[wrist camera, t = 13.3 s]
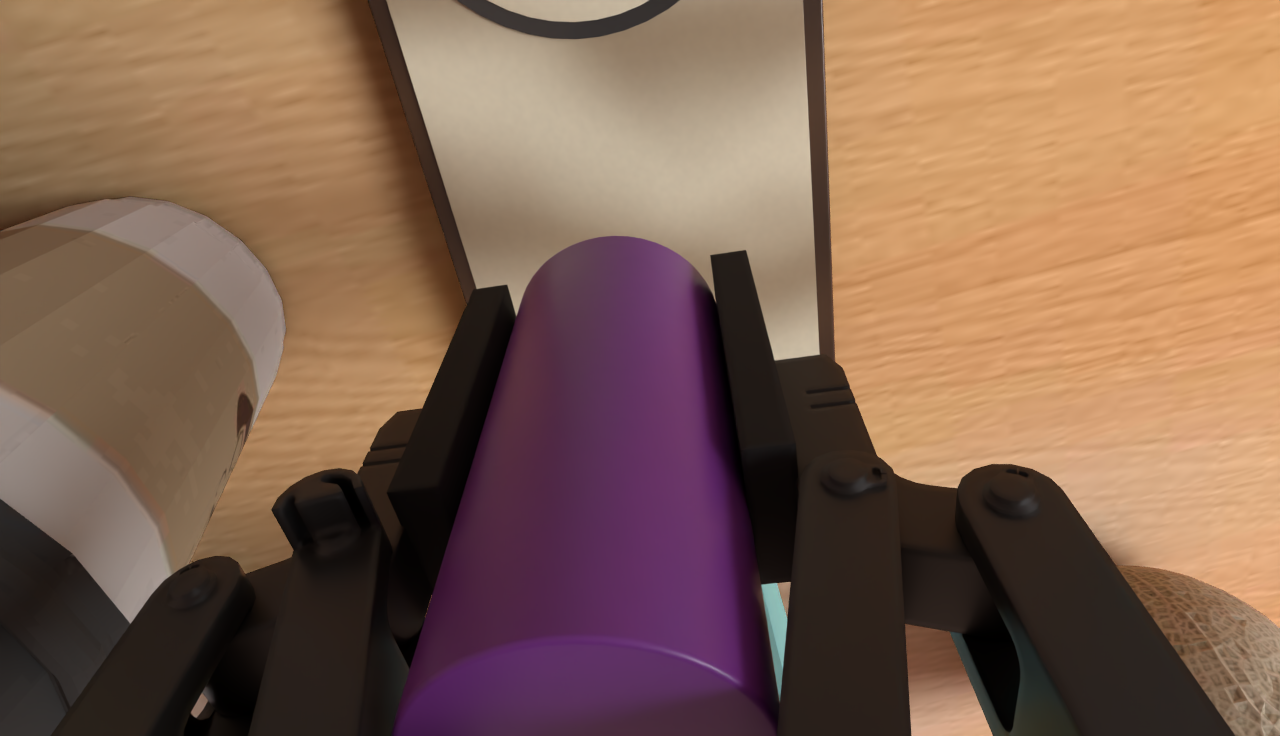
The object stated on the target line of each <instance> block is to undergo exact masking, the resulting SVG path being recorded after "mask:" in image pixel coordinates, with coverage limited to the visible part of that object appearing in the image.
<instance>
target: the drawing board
mask: <svg viewBox="0 0 1280 736" xmlns="http://www.w3.org/2000/svg"><path fill="white" fill-rule="evenodd" d="M368 3H369V6H370V9H371V12H372V15H373V18H374V21H375V24H376V28H377V31H378V34H379V37H380V40H381V43H382V46H383V49H384V52H385V55H386V58H387V61H388V64H389V67H390V71H391V74H392V77H393V80H394V83H395V86H396V89H397V92H398V95H399V98H400V101H401V104H402V107H403V110H404V114H405V117H406V120H407V123H408V126H409V129H410V132H411V135H412V138H413V141H414V144H415V147H416V150H417V153H418V157H419V160H420V163H421V166H422V169H423V172H424V175H425V178H426V181H427V184H428V187H429V190H430V193H431V196H432V200H433V203H434V206H435V209H436V212H437V215H438V218H439V221H440V224H441V227H442V230H443V233H444V236H445V239H446V243H447V246H448V249H449V252H450V255H451V258H452V261H453V264H454V267H455V270H456V273H457V276H458V279H459V282H460V286H461V289H462V292H463V295H464V298H465V301H466V304H467V303H468V301H469V298H470V296H471V294H472V291H473V289H479V288H486V287H493V286H500V285H508V289H509V292H510V296H511V299H512V303H513V306H514V310H515V313H516V316H517V313H518V310H519V306H520V303H521V300H522V297H523V294H524V292H525V290H526V287H527V285H528V284H529V282H530V280H531V279H532V277H533V276H534V274H535V273H536V272H537V271H538V270H539V268H540V267H541V266H542V265H543V264H544V263H545V262H547V261H548V260H549V259H550V258H551V257H553V256H554V255H555V254H557V253H558V252H560V251H561V250H563V249H565V248H567V247H569V246H571V245H573V244H576V243H579V242H582V241H585V240H588V239H593V238H597V237H605V236H629V237H636V238H642V239H645V240H649V241H652V242H656V243H658V244H660V245H663V246H665V247H667V248H669V249H671V250H672V251H674V252H676V253H678V254H679V255H681V256H682V257H683V258H684V259H686V260H687V261H688V262H690V263H691V264H692V265H693V266H694V267H695V268H696V269H697V271H698V272H699V273H700V274H701V275H702V277H703V278H704V279H705V281H706V282H707V284H708V286H709V288H710V290H711V292H712V294H713V296H714V299H715V291H714V283H713V275H712V266H711V258H710V255H714V254H721V253H728V252H735V251H742V250H746V251H747V255H748V259H749V263H750V267H751V271H752V275H753V279H754V282H755V286H756V290H757V294H758V298H759V302H760V306H761V310H762V313H763V317H764V321H765V325H766V329H767V333H768V337H769V341H770V344H771V348H772V352H773V356H774V360H782V359H790V358H798V357H805V356H813V355H821V354H825V355H827V356H828V357H829V358H831V359H832V360H833V361H834V362H835V344H834V315H833V285H832V256H831V227H830V198H829V169H828V140H827V111H826V82H825V53H824V24H823V0H368ZM715 302H716V299H715Z"/></svg>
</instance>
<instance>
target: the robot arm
mask: <svg viewBox="0 0 1280 736" xmlns="http://www.w3.org/2000/svg"><path fill="white" fill-rule="evenodd" d="M710 258H711V266H712V275H713V283H714V291H715V299H716V306H717V312H718V319H719V325H720V331H721V338H722V344H723V351H724V357H725V364H726V370H727V377H728V383H729V389H730V396H731V402H732V409H733V415H734V422H735V428H736V435H737V441H738V447H739V454H740V460H741V467H742V473H743V480H744V486H745V493H746V499H747V505H748V510H749V514H750V519H751V524H752V530H753V536H754V542H755V549H756V555H757V561H758V568H759V574H760V580H761V585H762V584H772V583H782V582H791V587H790V597H789V608H788V619H787V630H786V641H785V652H784V662H783V673H782V684H781V695H780V706H779V717H778V727H777V736H911V722H910V705H909V687H908V670H907V653H906V635H905V624H910V625H916V626H921V627H927V628H933V629H938V630H944V631H950V634H951V636H952V639H953V641H954V643H955V646H956V648H957V651H958V653H959V655H960V658H961V660H962V662H963V665H964V667H965V670H966V672H967V674H968V677H969V679H970V682H971V684H972V686H973V689H974V691H975V693H976V696H977V698H978V701H979V703H980V705H981V708H982V710H983V712H984V715H985V717H986V720H987V722H988V724H989V727H990V729H991V732H992V734H993V736H1235V734H1234V733H1233V731H1232V730H1231V729H1230V727H1229V726H1228V724H1227V723H1226V721H1225V720H1224V719H1223V717H1222V716H1221V714H1220V713H1219V712H1218V710H1217V709H1216V707H1215V706H1214V704H1213V703H1212V702H1211V700H1210V699H1209V697H1208V696H1207V694H1206V693H1205V692H1204V690H1203V689H1202V687H1201V686H1200V685H1199V683H1198V682H1197V680H1196V679H1195V677H1194V676H1193V675H1192V673H1191V672H1190V670H1189V669H1188V667H1187V666H1186V665H1185V663H1184V662H1183V660H1182V659H1181V658H1180V656H1179V655H1178V653H1177V652H1176V650H1175V649H1174V648H1173V646H1172V645H1171V643H1170V642H1169V640H1168V639H1167V638H1166V636H1165V635H1164V633H1163V632H1162V631H1161V629H1160V628H1159V626H1158V625H1157V623H1156V622H1155V621H1154V619H1153V618H1152V616H1151V615H1150V613H1149V612H1148V611H1147V609H1146V608H1145V606H1144V605H1143V603H1142V602H1141V601H1140V599H1139V598H1138V596H1137V595H1136V594H1135V592H1134V591H1133V589H1132V588H1131V586H1130V585H1129V584H1128V582H1127V581H1126V579H1125V578H1124V576H1123V575H1122V574H1121V572H1120V571H1119V569H1118V568H1117V567H1116V565H1115V564H1114V562H1113V561H1112V559H1111V558H1110V557H1109V555H1108V554H1107V552H1106V551H1105V549H1104V548H1103V547H1102V545H1101V544H1100V542H1099V541H1098V540H1097V538H1096V537H1095V535H1094V534H1093V532H1092V531H1091V530H1090V528H1089V527H1088V525H1087V524H1086V522H1085V521H1084V520H1083V518H1082V517H1081V515H1080V514H1079V513H1078V511H1077V510H1076V508H1075V507H1074V505H1073V504H1072V503H1071V501H1070V500H1069V498H1068V497H1067V495H1066V494H1065V493H1064V491H1063V490H1062V489H1061V488H1060V487H1059V486H1058V485H1057V484H1056V483H1055V482H1054V481H1053V480H1052V479H1051V478H1049V477H1047V476H1045V475H1043V474H1041V473H1039V472H1037V471H1035V470H1033V469H1030V468H1025V467H1021V466H1017V465H1012V464H991V465H987V466H984V467H980V468H976V469H974V470H972V471H971V472H970V473H968V474H967V475H965V476H964V477H963V478H962V480H961V482H960V484H959V486H958V489H957V488H948V487H939V486H930V485H925V484H920V483H915V482H912V481H909V480H907V479H904V478H901V477H899V476H898V475H896V474H894V472H893V469H892V468H891V467H890V466H889V465H888V464H887V463H886V462H884V461H883V460H882V459H881V458H879V457H878V456H877V455H876V452H875V449H874V447H873V444H872V442H871V439H870V437H869V434H868V432H867V429H866V427H865V424H864V421H863V419H862V416H861V414H860V411H859V409H858V406H857V404H856V403H855V398H854V396H853V393H852V391H851V389H850V387H849V383H848V381H847V378H846V376H845V373H844V370H843V368H842V367H841V366H839V365H838V364H837V363H836V362H834V361H833V360H832V359H831V358H829V357H828V356H827V355H825V354H821V355H813V356H805V357H798V358H790V359H782V360H774V356H773V352H772V348H771V344H770V341H769V337H768V333H767V329H766V325H765V321H764V317H763V313H762V310H761V306H760V302H759V298H758V294H757V290H756V286H755V282H754V279H753V275H752V271H751V267H750V263H749V259H748V255H747V251H746V250H742V251H735V252H728V253H721V254H714V255H710ZM515 320H516V313H515V310H514V306H513V303H512V299H511V296H510V292H509V289H508V285H500V286H493V287H486V288H479V289H473V291H472V294H471V296H470V298H469V301H468V303H467V305H466V308H465V310H464V312H463V315H462V317H461V319H460V322H459V324H458V327H457V329H456V331H455V334H454V336H453V338H452V341H451V343H450V345H449V348H448V350H447V352H446V355H445V357H444V359H443V362H442V364H441V366H440V369H439V371H438V373H437V376H436V378H435V380H434V383H433V385H432V387H431V390H430V392H429V394H428V397H427V399H426V401H425V404H424V406H423V408H422V409H415V410H407V411H400V412H397V413H396V414H395V415H394V416H393V417H392V418H391V419H390V420H389V421H387V422H386V423H385V424H384V425H383V426H382V427H381V428H380V429H379V431H378V433H377V435H376V437H375V439H374V441H373V443H372V445H371V447H370V452H368V453H367V455H366V457H365V459H364V461H363V467H361V468H360V470H359V472H358V474H356V473H355V472H354V471H352V470H347V469H340V468H338V469H331V470H324V471H321V472H318V473H315V474H313V475H310V476H307V477H305V478H303V479H302V480H300V481H298V482H297V483H295V484H293V485H292V486H290V487H289V488H288V489H287V490H286V491H285V492H284V493H283V494H282V495H281V496H279V497H278V499H277V500H276V502H275V504H274V506H273V508H272V509H271V510H272V512H273V514H274V516H275V517H276V519H277V521H278V523H279V525H280V526H281V528H282V530H283V532H284V534H285V535H286V537H287V539H288V541H289V543H290V544H291V546H292V548H293V550H294V551H293V555H292V557H291V558H289V559H286V560H284V561H281V562H278V563H276V564H273V565H270V566H267V567H264V568H261V569H258V570H255V571H253V572H250V573H247V574H245V573H244V571H243V570H242V568H241V567H240V565H239V563H238V562H236V561H235V560H233V559H232V558H230V557H224V556H213V557H209V558H205V559H201V560H198V561H195V562H193V563H191V564H189V565H186V566H185V567H183V568H181V569H179V570H178V571H176V572H175V573H174V574H172V575H171V576H169V577H168V578H167V579H165V580H164V581H163V582H162V583H161V584H160V585H159V587H158V588H157V589H156V590H155V591H154V592H153V593H152V594H151V596H150V597H149V599H148V600H147V601H146V603H145V604H144V606H143V607H142V608H141V610H140V611H139V613H138V614H137V615H136V617H135V618H134V620H133V621H132V622H131V624H130V625H129V627H128V628H127V629H126V631H125V632H124V634H123V635H122V636H121V638H120V639H119V641H118V642H117V643H116V645H115V646H114V648H113V649H112V650H111V652H110V653H109V655H108V656H107V657H106V659H105V660H104V662H103V663H102V664H101V666H100V667H99V669H98V670H97V671H96V673H95V674H94V676H93V677H92V678H91V680H90V681H89V683H88V684H87V685H86V687H85V688H84V690H83V691H82V692H81V694H80V695H79V697H78V698H77V699H76V701H75V702H74V704H73V705H72V706H71V708H70V709H69V711H68V712H67V713H66V715H65V716H64V718H63V719H62V720H61V722H60V723H59V725H58V726H57V727H56V729H55V730H54V732H53V733H52V734H51V736H391V733H392V729H393V725H394V720H395V716H396V713H397V710H398V707H399V703H400V700H401V697H402V693H403V690H404V687H405V683H406V680H407V677H408V673H409V670H410V667H411V664H412V660H413V657H414V654H415V650H416V647H417V644H418V640H419V637H420V634H421V630H422V627H423V624H424V621H425V615H426V612H427V608H428V605H429V602H430V599H431V595H432V594H433V591H434V587H435V584H436V581H437V578H438V574H439V571H440V568H441V564H442V561H443V558H444V554H445V551H446V548H447V545H448V541H449V538H450V535H451V531H452V528H453V525H454V521H455V518H456V515H457V511H458V508H459V505H460V502H461V498H462V495H463V492H464V488H465V485H466V482H467V478H468V475H469V472H470V468H471V465H472V462H473V459H474V455H475V452H476V449H477V445H478V442H479V439H480V435H481V432H482V429H483V425H484V422H485V419H486V416H487V412H488V409H489V406H490V402H491V399H492V396H493V392H494V389H495V386H496V383H497V379H498V376H499V373H500V369H501V366H502V363H503V359H504V356H505V353H506V349H507V346H508V343H509V340H510V336H511V333H512V330H513V326H514V323H515ZM202 693H203V695H204V696H205V697H206V699H207V700H208V702H207V703H206V705H205V707H204V709H203V711H202V712H201V713H200V714H199V715H198V716H197V718H196V717H194V716H193V715H192V714H191V711H192V710H193V708H194V706H195V704H196V702H197V701H198V699H199V697H200V695H201V694H202Z"/></svg>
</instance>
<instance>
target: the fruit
mask: <svg viewBox="0 0 1280 736" xmlns="http://www.w3.org/2000/svg"><path fill="white" fill-rule="evenodd" d="M1116 567H1117V568H1118V569H1119V571H1120V572H1121V574H1122V575H1123V576H1124V578H1125V579H1126V581H1127V582H1128V584H1129V585H1130V586H1131V588H1132V589H1133V591H1134V592H1135V594H1136V595H1137V596H1138V598H1139V599H1140V601H1141V602H1142V603H1143V605H1144V606H1145V608H1146V609H1147V611H1148V612H1149V613H1150V615H1151V616H1152V618H1153V619H1154V621H1155V622H1156V623H1157V625H1158V626H1159V628H1160V629H1161V631H1162V632H1163V633H1164V635H1165V636H1166V638H1167V639H1168V640H1169V642H1170V643H1171V645H1172V646H1173V648H1174V649H1175V650H1176V652H1177V653H1178V655H1179V656H1180V658H1181V659H1182V660H1183V662H1184V663H1185V665H1186V666H1187V667H1188V669H1189V670H1190V672H1191V673H1192V675H1193V676H1194V677H1195V679H1196V680H1197V682H1198V683H1199V685H1200V686H1201V687H1202V689H1203V690H1204V692H1205V693H1206V694H1207V696H1208V697H1209V699H1210V700H1211V702H1212V703H1213V704H1214V706H1215V707H1216V709H1217V710H1218V712H1219V713H1220V714H1221V716H1222V717H1223V719H1224V720H1225V721H1226V723H1227V724H1228V726H1229V727H1230V729H1231V730H1232V731H1233V733H1234V734H1235V736H1280V628H1279V627H1278V626H1276V625H1275V624H1274V623H1273V622H1272V621H1271V620H1269V619H1268V618H1267V617H1266V616H1265V615H1263V614H1262V613H1260V612H1259V611H1257V610H1256V609H1254V608H1253V607H1251V606H1250V605H1248V604H1246V603H1245V602H1243V601H1241V600H1240V599H1238V598H1236V597H1234V596H1233V595H1230V594H1228V593H1227V592H1225V591H1223V590H1221V589H1219V588H1216V587H1214V586H1211V585H1209V584H1207V583H1204V582H1202V581H1199V580H1197V579H1195V578H1192V577H1189V576H1186V575H1182V574H1179V573H1175V572H1171V571H1167V570H1162V569H1156V568H1150V567H1140V566H1116Z"/></svg>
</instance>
